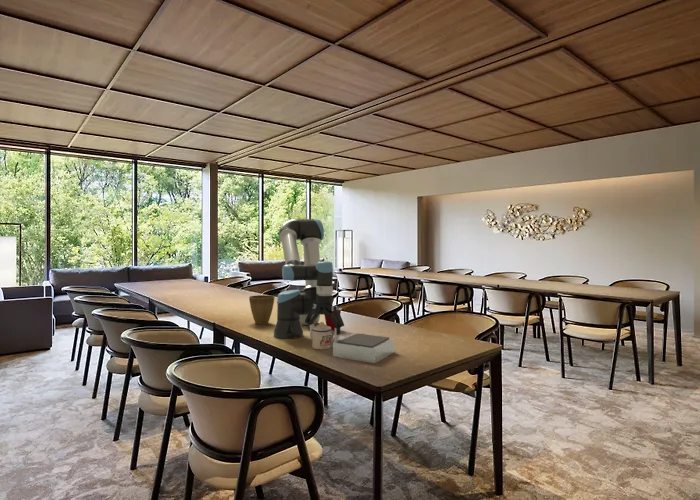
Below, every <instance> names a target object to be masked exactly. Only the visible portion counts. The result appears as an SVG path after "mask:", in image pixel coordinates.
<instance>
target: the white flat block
mask: <svg viewBox="0 0 700 500" xmlns="http://www.w3.org/2000/svg"><path fill="white" fill-rule="evenodd" d="M393 353H395V338H390V336H389V337H388V336H383V335H380V336H379V335H373V334H366V333H358V332H357V333H353V334H350V335H349V336H345V337H344V338H341V339H339V340H338V341H336V342H332V357H333V358H341V359H346V360H352V361H357V362H365V363H370V364H377V363H379V362H380V361H381V360H383V359H385V358H386V357H389V356H390V355H391V354H393Z"/></svg>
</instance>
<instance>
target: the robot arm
mask: <svg viewBox="0 0 700 500" xmlns="http://www.w3.org/2000/svg"><path fill="white" fill-rule="evenodd" d="M324 232H325V230H324V224H323V223H322V221H321V220H320V219H314V218H291V219H289V220H287V221H285V222H284V223H283V224H282V225H281V227H280V228H279V231H278V239H279V241H280V242H281V247H282V253H283V258H284V264H283V265H282V269H281V273H282V280H284V281H292V282H293V281H305V286H304V288H303V290H302V292H301V290H300V289H291V290H290V289H289V290H284V291H281V292H280V293H278V294H277V301H276V304H277V309H276V311H277V312H276V313H277V318H276V319H277V320H276V324H275V326H274V331H273V337H275V338H277V339H285V340H286V339H288V340H290V339H299V338H301V337H303V336H304V329H303V327H302V326H303V325H301V323H300V315H307V317H306V320H305V323H308V325H307V327H308V332H309V339H311V340H313V330H312V328H313V327H315V324H313V322H314V321H315V320H316V318H317V317H318V316H319V315H320V316H321V315H324V316H325V315H328V316H329V317H330V319H331V320H332V322H333V323H334V325H335V326H336V328H335V331H334V336H333V339H334V342H336V341H338V340H340V335H341V328H342V327H344V326H345V323H344V320H343V318H342V316H341V313H339V309H338V308H339V306H338V305H334V306H333V293H334V292H333V288H334V287H333V276H334V272H333V271H334V267H333V266H334V265H333V262H332V261H321V255H320V244H321V243H322V241H323V240H324V238H325V234H324ZM298 240H299V241H300V244H301V245H302V246H303V264H302V263H301V258H300V253H299V249H298V248H299V247H298V244H297V241H298ZM332 309H333V311H334V314H335V316H336V317H335V316H334V314H333V312H332ZM312 315H314V316H313V317H312ZM311 317H312V318H311ZM310 319H311V320H310Z"/></svg>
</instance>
